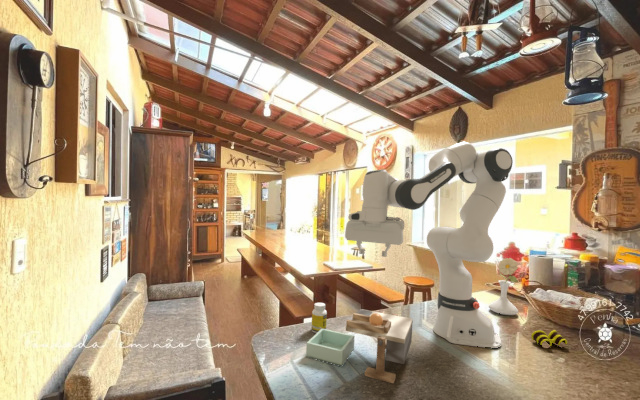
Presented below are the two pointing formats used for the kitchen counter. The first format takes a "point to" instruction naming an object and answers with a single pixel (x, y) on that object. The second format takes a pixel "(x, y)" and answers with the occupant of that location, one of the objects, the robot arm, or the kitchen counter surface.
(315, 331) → the supplement bottle
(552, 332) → the yellow black striped piece
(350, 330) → the lever
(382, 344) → the lever stand
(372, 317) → the ball
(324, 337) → the green square tray
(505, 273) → the flower in vase
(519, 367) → the kitchen counter surface
